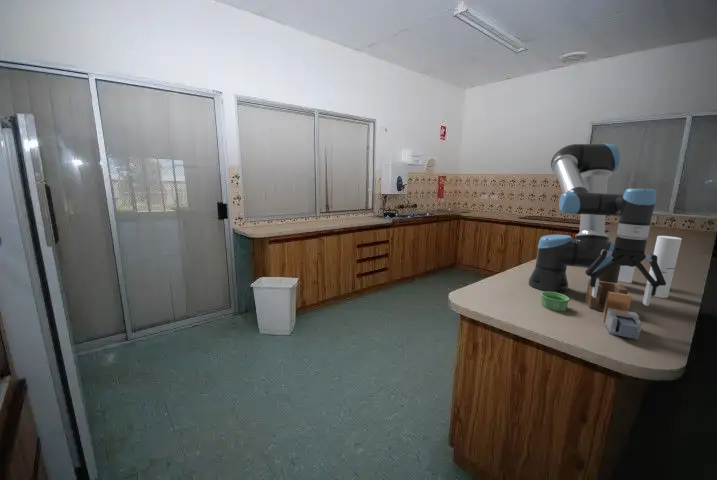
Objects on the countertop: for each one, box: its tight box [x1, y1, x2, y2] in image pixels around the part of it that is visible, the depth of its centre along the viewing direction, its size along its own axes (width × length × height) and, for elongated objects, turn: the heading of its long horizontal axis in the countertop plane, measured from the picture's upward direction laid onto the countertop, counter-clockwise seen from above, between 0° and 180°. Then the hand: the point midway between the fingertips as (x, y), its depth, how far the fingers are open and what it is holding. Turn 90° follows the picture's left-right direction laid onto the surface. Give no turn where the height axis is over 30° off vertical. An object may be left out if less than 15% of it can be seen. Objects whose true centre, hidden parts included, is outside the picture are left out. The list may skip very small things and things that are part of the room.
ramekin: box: [540, 291, 571, 312], centre depth 116 cm, size 9×9×4 cm
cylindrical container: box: [646, 235, 683, 299], centre depth 129 cm, size 7×7×25 cm
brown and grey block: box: [601, 292, 638, 339], centre depth 100 cm, size 6×20×10 cm, turn 153°
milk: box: [617, 266, 636, 284], centre depth 147 cm, size 6×6×22 cm
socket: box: [584, 278, 629, 311], centre depth 116 cm, size 10×8×9 cm
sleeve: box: [604, 308, 643, 340], centre depth 96 cm, size 7×6×6 cm
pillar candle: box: [594, 264, 621, 283], centre depth 143 cm, size 10×10×15 cm
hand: (618, 300), depth 102 cm, fingers open, 13 cm apart
